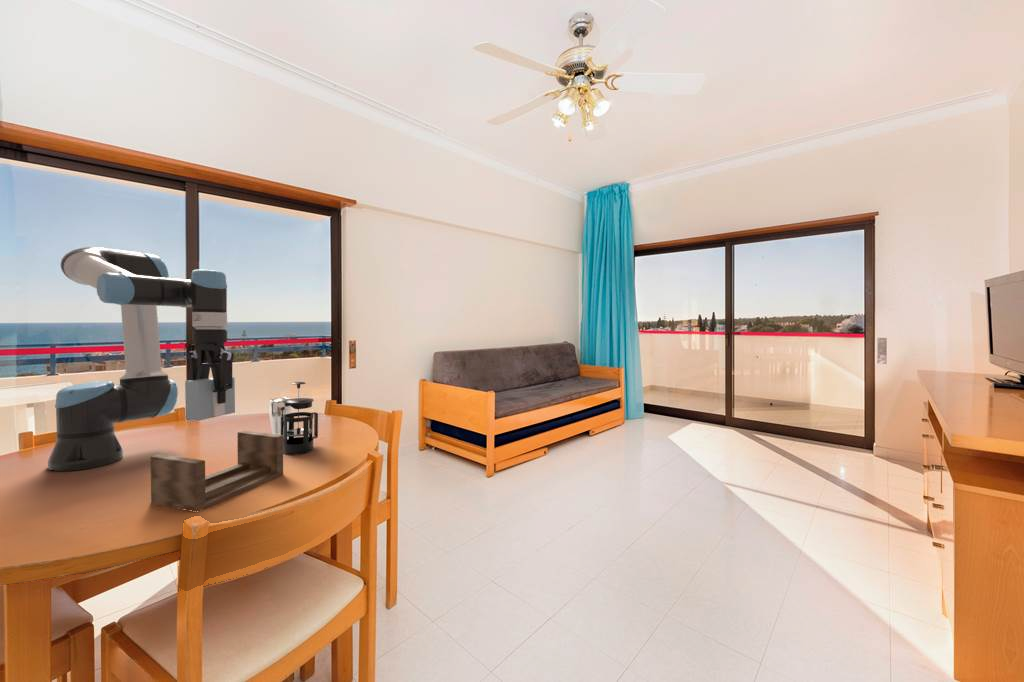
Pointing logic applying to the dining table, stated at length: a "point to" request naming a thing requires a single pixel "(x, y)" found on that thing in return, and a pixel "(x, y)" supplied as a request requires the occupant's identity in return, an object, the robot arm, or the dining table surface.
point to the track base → (216, 474)
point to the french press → (298, 443)
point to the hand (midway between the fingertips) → (211, 414)
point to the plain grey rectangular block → (205, 399)
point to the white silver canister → (278, 415)
